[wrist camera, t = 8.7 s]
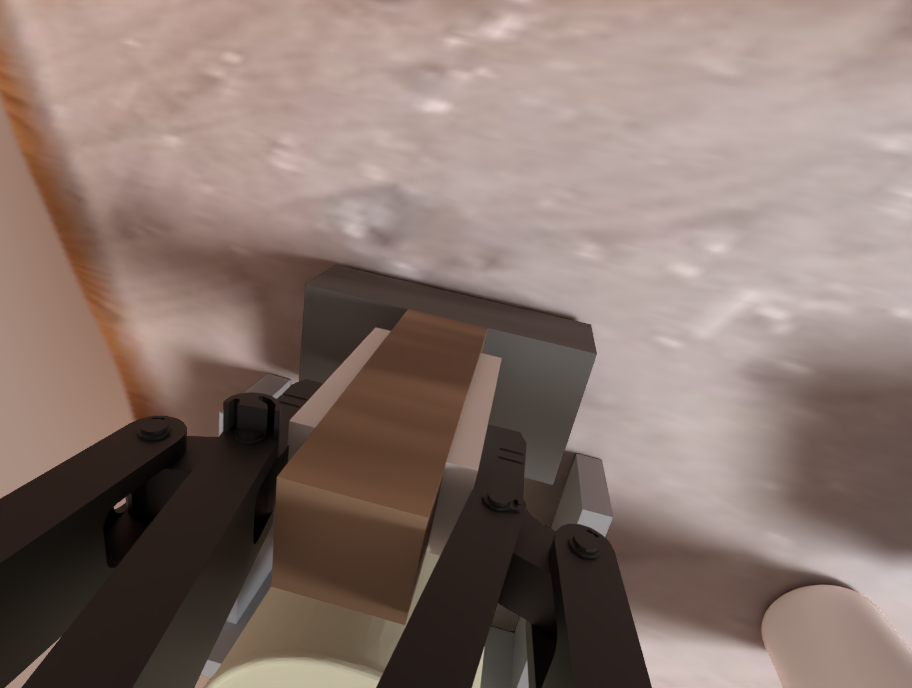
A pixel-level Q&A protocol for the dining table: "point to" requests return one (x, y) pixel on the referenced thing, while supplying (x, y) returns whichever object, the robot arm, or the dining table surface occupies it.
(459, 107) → the dining table surface
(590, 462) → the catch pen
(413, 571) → the scraper
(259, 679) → the can
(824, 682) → the drinking glass
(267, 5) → the dining table surface
